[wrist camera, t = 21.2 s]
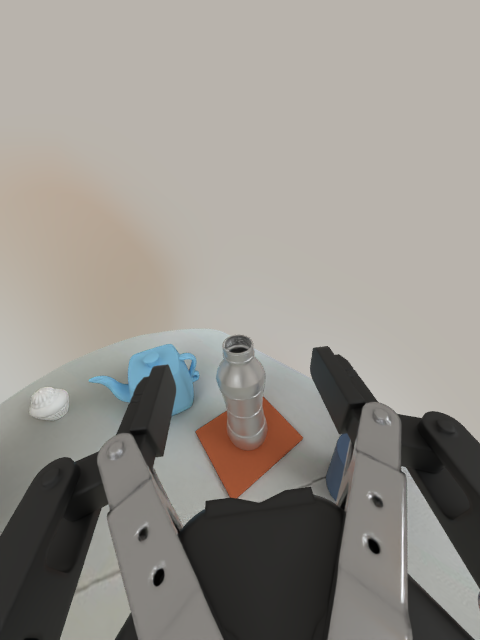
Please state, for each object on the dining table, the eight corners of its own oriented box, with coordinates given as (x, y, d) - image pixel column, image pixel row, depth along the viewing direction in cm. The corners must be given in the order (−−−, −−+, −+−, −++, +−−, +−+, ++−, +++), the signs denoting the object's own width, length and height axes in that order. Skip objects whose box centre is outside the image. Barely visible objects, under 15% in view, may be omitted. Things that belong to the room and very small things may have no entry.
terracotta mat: (257, 392, 44) (257, 390, 43) (302, 439, 35) (303, 437, 35) (195, 432, 37) (195, 431, 37) (232, 502, 29) (232, 500, 29)
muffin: (49, 405, 45) (28, 383, 41) (80, 396, 46) (63, 374, 42) (34, 432, 40) (9, 410, 36) (70, 422, 41) (49, 399, 37)
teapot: (115, 394, 46) (91, 354, 40) (195, 365, 52) (185, 327, 45) (111, 447, 36) (78, 407, 30) (210, 406, 42) (200, 364, 36)
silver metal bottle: (255, 464, 32) (248, 372, 21) (220, 441, 35) (198, 351, 24) (274, 429, 36) (275, 337, 25) (241, 411, 40) (230, 323, 29)
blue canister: (341, 455, 33) (353, 422, 28) (378, 491, 29) (401, 459, 24) (317, 480, 30) (326, 449, 25) (355, 523, 26) (374, 496, 21)
